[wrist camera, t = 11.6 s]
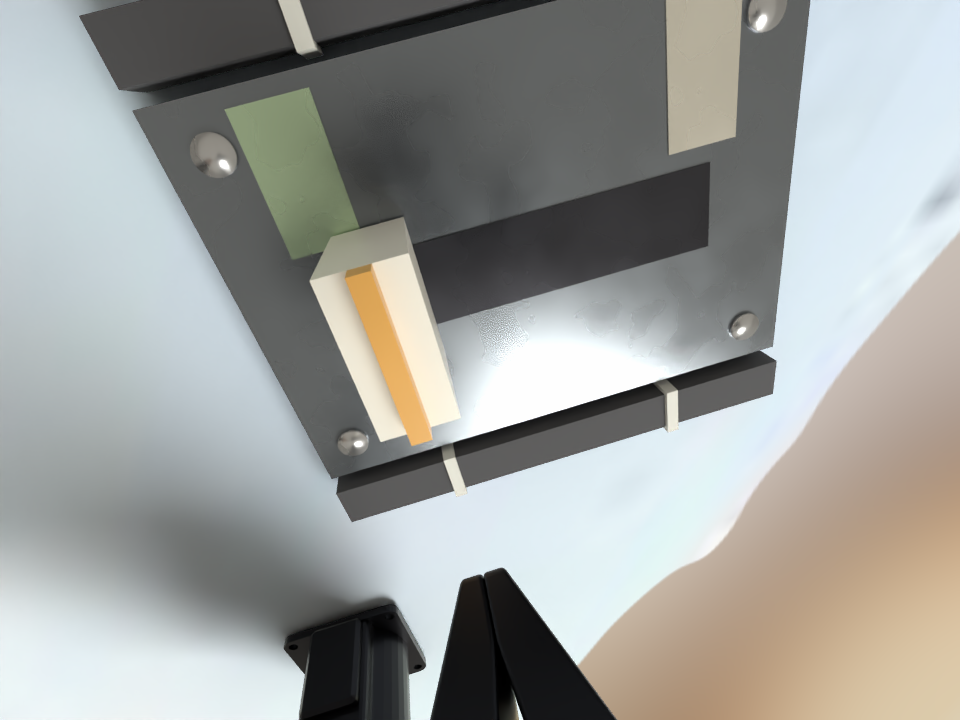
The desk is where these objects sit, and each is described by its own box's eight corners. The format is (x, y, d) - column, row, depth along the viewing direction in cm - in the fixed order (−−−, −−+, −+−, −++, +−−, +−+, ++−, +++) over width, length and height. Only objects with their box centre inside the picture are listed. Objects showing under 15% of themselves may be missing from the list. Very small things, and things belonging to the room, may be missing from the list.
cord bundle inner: (745, 378, 23) (775, 399, 21) (356, 495, 22) (353, 528, 20) (748, 339, 22) (780, 359, 20) (338, 462, 21) (334, 493, 19)
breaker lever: (444, 349, 17) (463, 430, 13) (382, 367, 17) (380, 455, 13) (403, 216, 15) (409, 259, 10) (330, 236, 15) (304, 289, 10)
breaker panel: (749, 332, 21) (775, 347, 20) (335, 455, 21) (331, 481, 19) (778, -51, 14) (821, -70, 13) (156, 111, 14) (129, 110, 12)
